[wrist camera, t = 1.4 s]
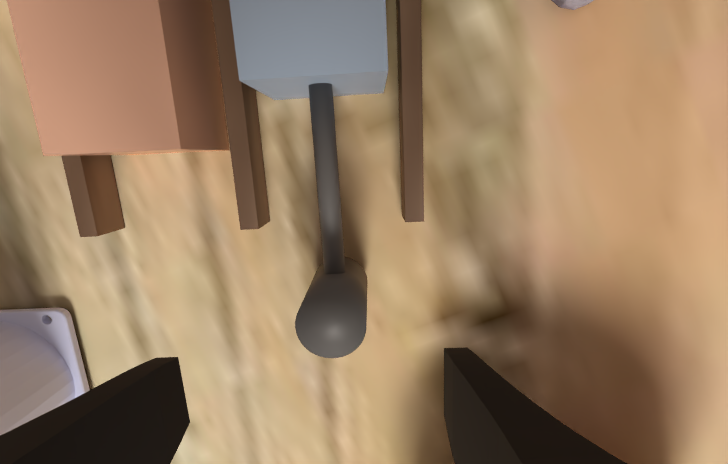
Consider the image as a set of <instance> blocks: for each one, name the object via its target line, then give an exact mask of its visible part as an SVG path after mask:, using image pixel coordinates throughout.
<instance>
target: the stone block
mask: <svg viewBox="0 0 728 464" xmlns="http://www.w3.org/2000/svg"><path fill="white" fill-rule="evenodd" d="M552 1H553V2H554V3H555V4H556V5H557V6H559V7H561V8H566V9H572V10H575V9H577V8H580V7H582V6H584V5H587V4H589V3H590V2H592V1H593V0H552Z"/></svg>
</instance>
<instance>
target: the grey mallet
mask: <svg viewBox="0 0 728 464" xmlns="http://www.w3.org/2000/svg"><path fill="white" fill-rule="evenodd" d="M229 2H230V10H231V18H232V26H233V34H234V42H235V50H236V58H237V66H238V74H239V81H241V82H243V83H245V84H246V85H248V86H250V87H252V88H254V89H255V90H257V91H259V92H261V93H263V94H265V95H266V96H268V97H270V98H272V99H274V100H283V99H298V98H310V110H311V121H312V133H313V145H314V157H315V168H316V180H317V192H318V204H319V215H320V227H321V239H322V250H323V263H322V264H321V265H320V267H319V268H318V270H317V271H316V274H315V276H314V278H313V280H312V282H311V285H310V287H309V289H308V291H307V293H306V296H305V298H304V300H303V302H302V304H301V306H300V309H299V311H298V313H297V316H296V321H295V328H296V333H297V336H298V338H299V340H300V342H301V343H302V344H303V346H304V347H305V348H306V349H308V350H309V351H310V352H312V353H314V354H315V355H318V356H321V357H325V358H339V357H343V356H346V355H348V354H350V353H352V352H353V351H354V350H356V349H357V348H358V347H359V345H360V344H361V343H362V341H363V339H364V337H365V333H366V317H367V276H366V273H365V271H364V269H363V268H362V266H361V265H360V264H359V263H357V262H356V261H354V260H353V259H350V258H347V257H344V243H343V229H342V215H341V201H340V187H339V173H338V159H337V145H336V131H335V117H334V103H333V96H346V95H362V94H377V93H384V88H385V84H386V79H387V74H388V52H387V27H386V1H385V0H229Z"/></svg>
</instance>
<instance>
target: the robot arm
mask: <svg viewBox="0 0 728 464" xmlns="http://www.w3.org/2000/svg"><path fill="white" fill-rule="evenodd" d="M49 317H51V319H52V320H51V319H50V318H49ZM444 417H445V422H446V427H447V432H448V437H449V441H450V446H451V451H452V455H453V458H454V461H455V464H626V463H625V462H623V461H621V460H620V459H618V458H616V457H614V456H613V455H611V454H609V453H608V452H606V451H605V450H603V449H601V448H600V447H598V446H597V445H595V444H593V443H592V442H590V441H589V440H587V439H585V438H584V437H582V436H581V435H579V434H577V433H576V432H575V431H573V430H572V429H570V428H569V427H567V426H566V425H564V424H563V423H561V422H560V421H558V420H557V419H556V418H554V417H553V416H551V415H550V414H549V413H547V412H546V411H545V410H543V409H542V408H540V407H539V406H538V405H536V404H535V403H534V402H532V401H531V400H530V399H528V398H527V397H526V396H525V395H523V394H522V393H521V392H520V391H518V390H517V389H516V388H515V387H513V386H512V385H511V384H510V383H508V382H507V381H506V380H505V379H504V378H502V377H501V376H500V375H499V374H498V373H496V372H495V371H494V370H493V369H492V368H491V367H489V366H488V365H487V364H486V363H485V362H484V361H483V360H481V359H480V358H479V357H478V356H477V355H476V354H474V353H473V352H472V351H471V350H470V349H468V348H444ZM189 423H190V420H189V414H188V409H187V403H186V398H185V393H184V387H183V382H182V376H181V371H180V365H179V360H178V357H168V358H155V359H152V360H150V361H147V362H145V363H143V364H141V365H138V366H136V367H134V368H132V369H130V370H128V371H126V372H124V373H122V374H120V375H118V376H116V377H114V378H113V379H111V380H109V381H107V382H105V383H103V384H101V385H99V386H97V387H95V388H93V389H92V390H90V389H89V385H88V381H87V377H86V373H85V369H84V365H83V361H82V357H81V353H80V349H79V345H78V341H77V337H76V333H75V329H74V325H73V321H72V317H71V314H70V312H69V311H68V310H66V309H64V308H35V309H9V310H0V464H170V463H171V461H172V459H173V457H174V455H175V453H176V451H177V449H178V447H179V445H180V443H181V441H182V438H183V436H184V434H185V432H186V429H187V427H188V425H189Z"/></svg>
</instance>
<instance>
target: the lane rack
mask: <svg viewBox="0 0 728 464" xmlns="http://www.w3.org/2000/svg"><path fill="white" fill-rule="evenodd" d="M211 4H212V11H213V19H214V27H215V35H216V42H217V50H218V58H219V66H220V73H221V81H222V89H223V97H224V104H225V112H226V120H227V128H228V135H229V143H230V151H231V159H232V167H233V174H234V182H235V190H236V198H237V205H238V213H239V221H240V229H241V230H244V229H259V228H260V227H262V226H263V225H265V224H266V223H268V222H269V221H270V218H269V209H268V200H267V190H266V181H265V172H264V163H263V154H262V145H261V136H260V127H259V118H258V109H257V99H256V90H255V89H254V88H252V87H250V86H248V85H246V84H245V83H243V82H241V81H239V74H238V66H237V58H236V50H235V42H234V34H233V26H232V18H231V10H230V2H229V0H211ZM396 9H397V47H398V84H399V121H400V158H401V196H402V216H403V218H404V220H405V222H421V221H424V190H423V114H422V38H421V0H396ZM61 156H62V160H63V164H64V169H65V173H66V177H67V182H68V186H69V190H70V195H71V199H72V203H73V208H74V212H75V216H76V221H77V225H78V229H79V234H80V237H89V236H100V235H103V234H106V233H110V232H113V231H116V230H119V229H123V228H125V226H124V221H123V216H122V211H121V206H120V201H119V196H118V191H117V186H116V181H115V176H114V171H113V166H112V161H111V156H110V155H61Z"/></svg>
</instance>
